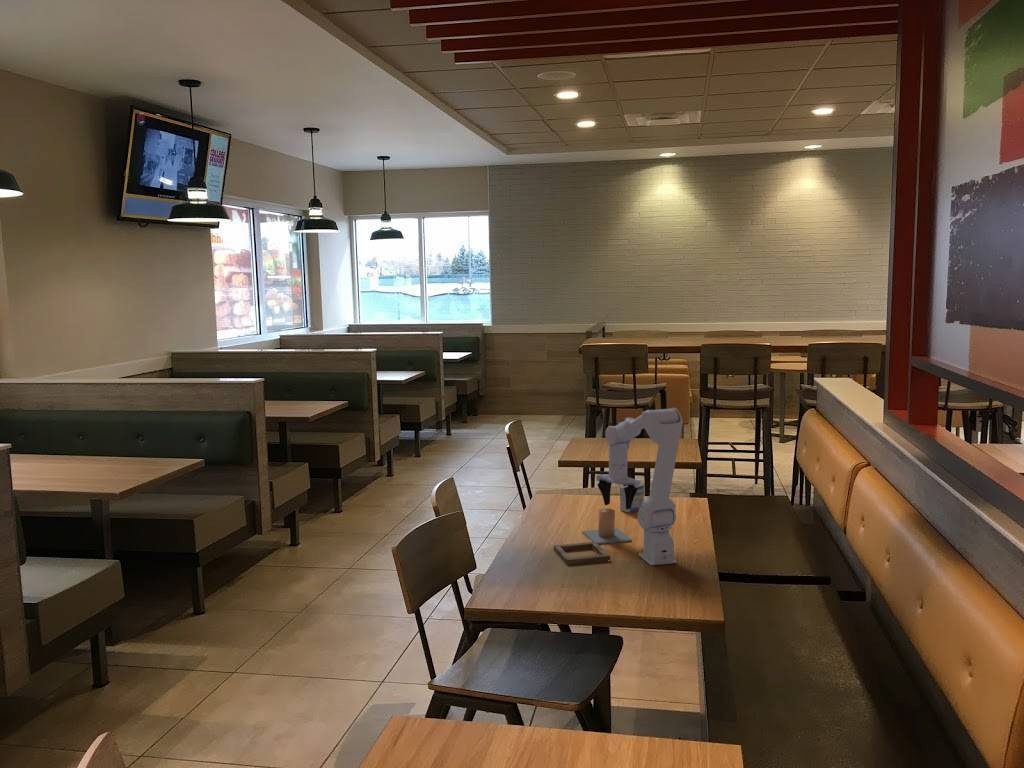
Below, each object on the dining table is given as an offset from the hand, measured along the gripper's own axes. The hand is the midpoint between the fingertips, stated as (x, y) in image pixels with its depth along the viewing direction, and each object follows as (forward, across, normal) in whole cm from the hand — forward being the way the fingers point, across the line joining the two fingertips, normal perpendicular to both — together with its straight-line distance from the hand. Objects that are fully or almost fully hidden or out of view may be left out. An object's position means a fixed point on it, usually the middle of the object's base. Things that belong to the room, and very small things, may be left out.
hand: (617, 506), depth 255 cm
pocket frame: (+10, 0, -21) cm, 23 cm away
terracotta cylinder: (+9, -2, -3) cm, 10 cm away
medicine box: (+10, -11, +29) cm, 32 cm away
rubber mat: (+10, -2, -2) cm, 10 cm away
